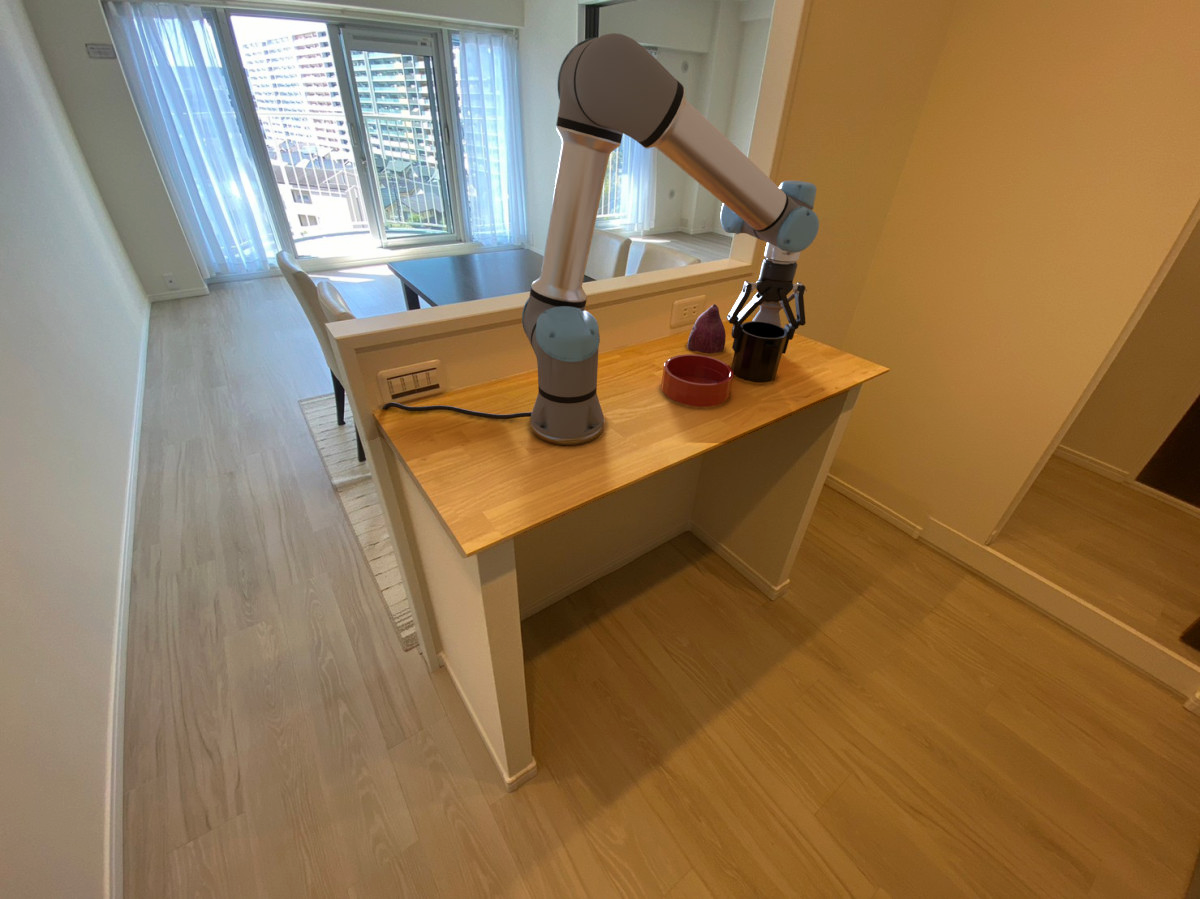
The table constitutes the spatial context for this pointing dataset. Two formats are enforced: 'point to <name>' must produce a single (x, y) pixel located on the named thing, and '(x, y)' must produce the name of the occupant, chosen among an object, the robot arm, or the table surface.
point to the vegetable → (708, 332)
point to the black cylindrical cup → (759, 351)
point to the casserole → (696, 380)
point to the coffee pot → (771, 311)
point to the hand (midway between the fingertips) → (758, 350)
